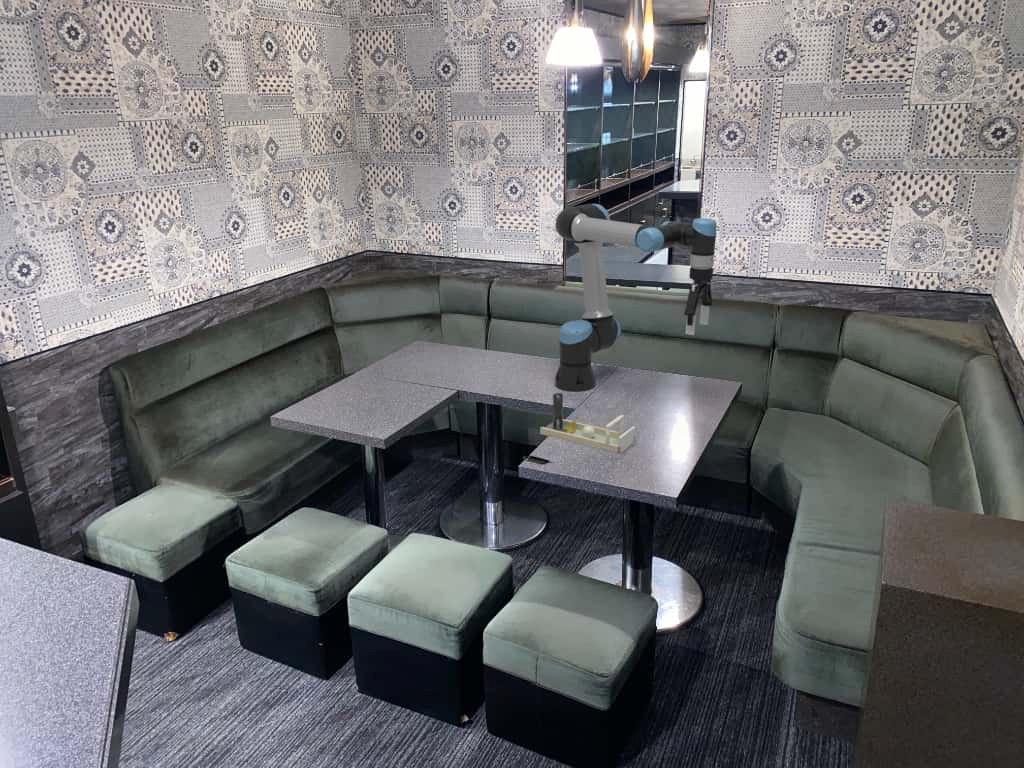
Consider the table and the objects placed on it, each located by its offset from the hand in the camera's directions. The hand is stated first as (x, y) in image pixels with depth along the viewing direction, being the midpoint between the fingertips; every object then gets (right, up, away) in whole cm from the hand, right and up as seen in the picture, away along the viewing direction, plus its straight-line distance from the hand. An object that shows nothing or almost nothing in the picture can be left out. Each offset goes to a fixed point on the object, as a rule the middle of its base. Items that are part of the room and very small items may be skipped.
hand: (696, 329), depth 264 cm
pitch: (-39, -36, -20) cm, 57 cm away
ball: (-39, -35, -20) cm, 56 cm away
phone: (-52, -40, -27) cm, 71 cm away
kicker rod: (-47, -33, -15) cm, 60 cm away
